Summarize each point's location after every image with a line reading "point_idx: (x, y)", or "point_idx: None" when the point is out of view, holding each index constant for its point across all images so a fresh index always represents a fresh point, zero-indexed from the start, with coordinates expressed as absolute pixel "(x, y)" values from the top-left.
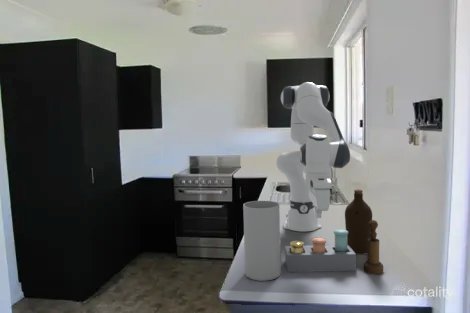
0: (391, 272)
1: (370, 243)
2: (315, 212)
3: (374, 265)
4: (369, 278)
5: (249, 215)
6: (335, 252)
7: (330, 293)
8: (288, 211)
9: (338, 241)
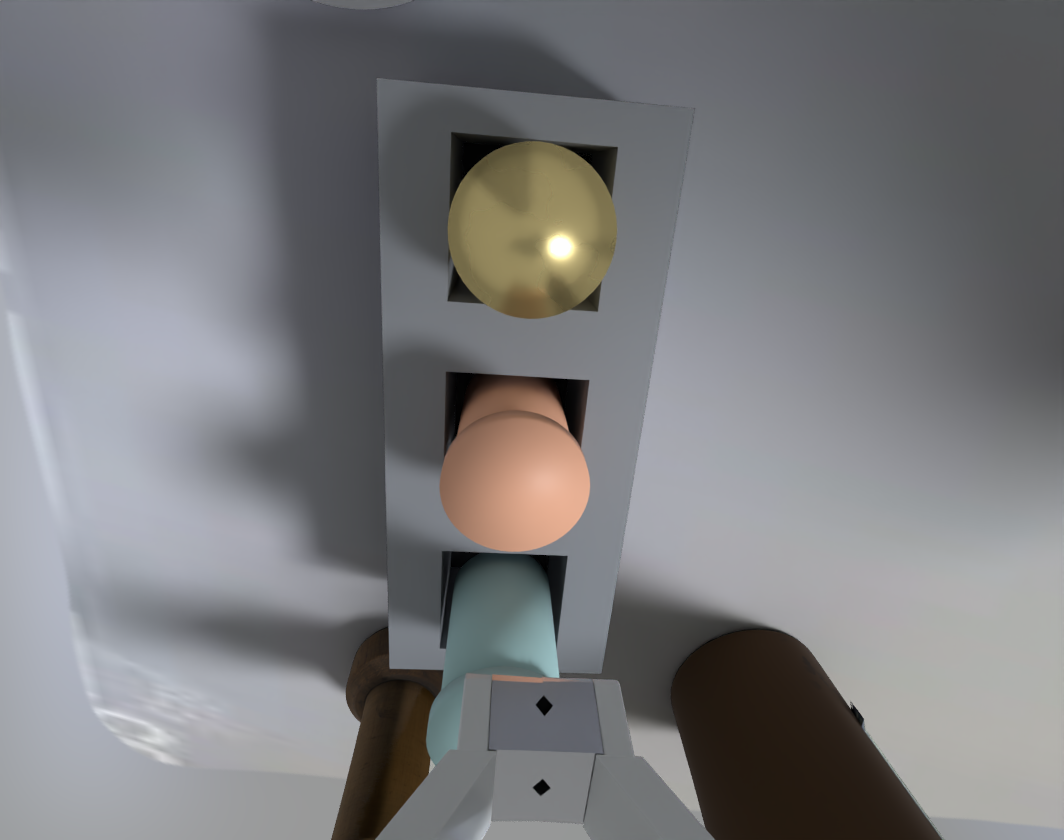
0: None
1: (343, 826)
2: (569, 741)
3: (355, 698)
4: (292, 616)
5: None
6: (435, 550)
7: (25, 344)
8: None
9: (455, 639)
